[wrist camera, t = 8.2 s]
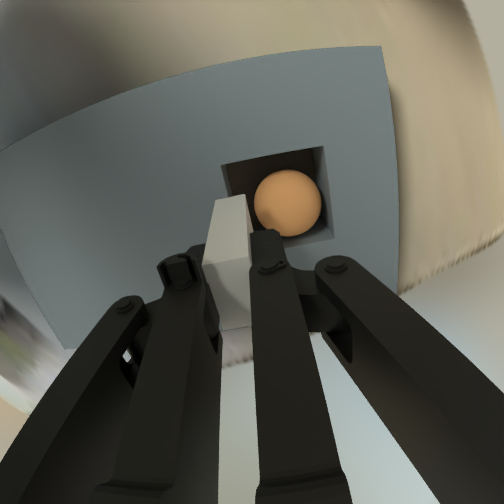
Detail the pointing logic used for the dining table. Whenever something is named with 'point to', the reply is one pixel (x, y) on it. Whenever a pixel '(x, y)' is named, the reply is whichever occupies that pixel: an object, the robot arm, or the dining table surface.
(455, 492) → the robot arm
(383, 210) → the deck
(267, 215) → the ball
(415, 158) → the dining table surface
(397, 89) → the dining table surface
